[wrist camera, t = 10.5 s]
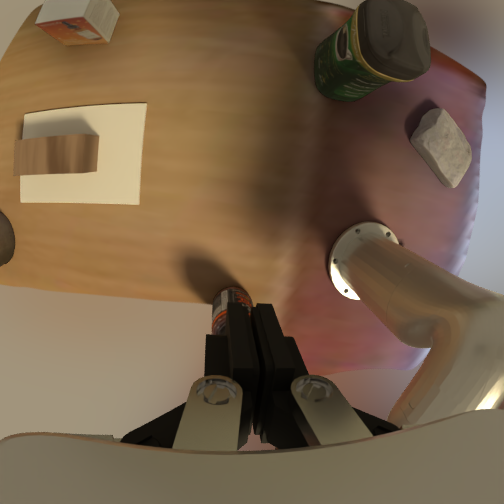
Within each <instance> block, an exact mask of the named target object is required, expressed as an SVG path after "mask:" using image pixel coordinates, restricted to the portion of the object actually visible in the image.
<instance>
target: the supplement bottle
mask: <svg viewBox="0 0 504 504" xmlns="http://www.w3.org/2000/svg"><path fill="white" fill-rule="evenodd" d="M227 302H237V303H242V306H243V307H248V312H249V317H250V312H251V307H253V303H252V300H251V298H250V296H249V294H248V293H247V292H246V291H244V290H243V289H240V288H237V287H228V288H225V289H223V290H221V291H220V292H219V293H218V294H217V295H216V296H215V298H214V301H213V310H212V335H225V324H226V310H227Z"/></svg>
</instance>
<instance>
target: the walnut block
mask: <svg viewBox="0 0 504 504" xmlns="http://www.w3.org/2000/svg"><path fill="white" fill-rule="evenodd" d="M98 147H99V136H96V135H90V134H72V135H59V136H48V137H39V138H30V139H22V140H15V150H14V175H13V176H23V175H43V174H76V173H89V172H97V162H98Z"/></svg>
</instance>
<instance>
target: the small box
mask: <svg viewBox="0 0 504 504" xmlns="http://www.w3.org/2000/svg"><path fill="white" fill-rule="evenodd" d="M118 17H119V13H118V11H117V10H116V8H115V7H114V5H113V4H112V2H111V1H110V0H45V2H44V4H43V6H42V8H41V11H40V13H39V15H38V17H37V20H36V22H35V25H37V26H38V27H40V28H41V29H42V30H44V31H45V32H47V33H48V34H50V35H51V36H52V37H54V38H55V39H57V40H58V41H59V42H61V43H62V44H64V45H65V46H71V45H83V44H109V42H110V39H111V36H112V33H113V31H114V28H115V25H116V22H117V20H118Z"/></svg>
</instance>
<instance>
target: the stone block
mask: <svg viewBox="0 0 504 504" xmlns="http://www.w3.org/2000/svg"><path fill="white" fill-rule="evenodd" d="M410 142H411V144H412V145H413V147H414V148H415V149H416V150H417V152H418V153H419V154H420V155H421V156H422V158H423V159H424V160H425V161H426V163H427V164H428V165H429V166H430V168H431V169H432V170H433V172H434V173H435V174H436V176H437V177H438V178H439V180H440V181H441V183H442V184H443V185H444V186H446V187H448V188H454V187H456V186H457V185H458V184H459V182H460V180H461V179H462V177H463V175H464V174H465V172H466V170H467V169H468V167H469V165H470V162H471V159H472V156H471V147H470V144H469V143H468V142H467V141H466V138H465V136H464V134H463V132H462V131H461V130H460V129H459V127H457V125H456V123H455V122H454V120H453V119H452V118H451V117H450V115H449V114H448V113H447V112H446V111H445V110H444V109H440V108H436V109H432V110H429V111H428V112H427V113H426V114H424V116H423V117H422V119H421V122H420V123H419V126H418V128H417V129H416V130H415V131H414V133H413V135H412V137H411V138H410Z"/></svg>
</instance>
